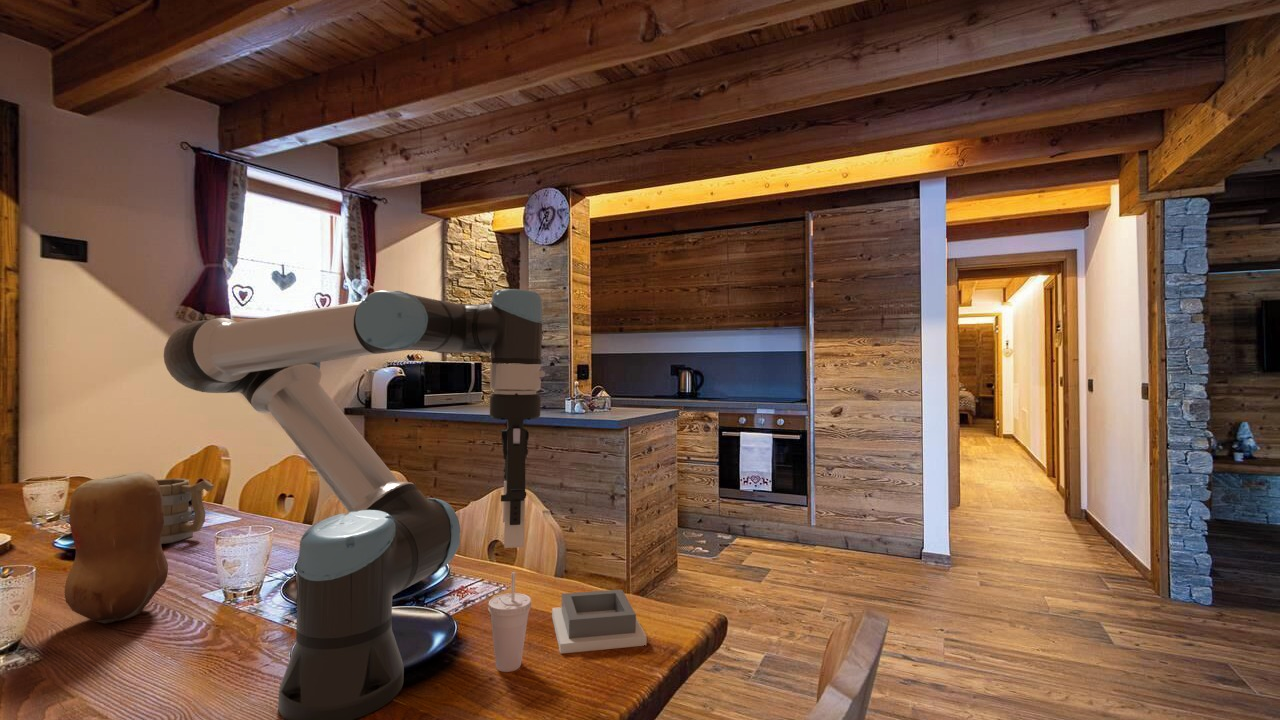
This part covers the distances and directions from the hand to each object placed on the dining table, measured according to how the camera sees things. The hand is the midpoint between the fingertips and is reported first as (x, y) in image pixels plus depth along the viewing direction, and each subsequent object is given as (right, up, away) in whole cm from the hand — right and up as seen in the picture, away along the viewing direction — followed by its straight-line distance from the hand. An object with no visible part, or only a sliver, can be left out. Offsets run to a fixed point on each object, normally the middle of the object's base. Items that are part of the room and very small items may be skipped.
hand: (512, 533), depth 87 cm
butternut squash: (-71, -19, +12) cm, 74 cm away
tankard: (-97, -19, +57) cm, 114 cm away
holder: (+12, -20, +12) cm, 26 cm away
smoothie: (-1, -20, 0) cm, 20 cm away
